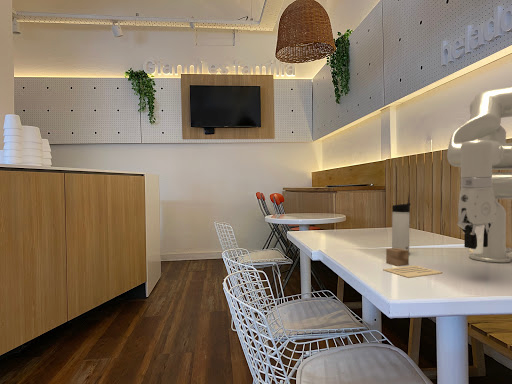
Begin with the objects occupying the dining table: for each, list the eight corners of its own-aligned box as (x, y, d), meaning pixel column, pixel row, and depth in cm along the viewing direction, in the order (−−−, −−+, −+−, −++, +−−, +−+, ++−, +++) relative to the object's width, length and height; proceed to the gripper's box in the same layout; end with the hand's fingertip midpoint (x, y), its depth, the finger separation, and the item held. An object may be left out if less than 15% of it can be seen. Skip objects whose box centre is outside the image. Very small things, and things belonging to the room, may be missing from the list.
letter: (415, 266, 112) (415, 265, 112) (442, 273, 102) (442, 272, 102) (382, 270, 106) (382, 269, 106) (408, 277, 97) (408, 276, 97)
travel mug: (412, 255, 129) (412, 203, 129) (393, 255, 131) (394, 203, 130) (408, 252, 135) (408, 203, 135) (390, 252, 137) (390, 202, 136)
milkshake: (460, 251, 100) (459, 217, 99) (478, 250, 100) (478, 216, 99) (469, 255, 95) (468, 220, 95) (489, 254, 95) (488, 218, 94)
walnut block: (397, 262, 119) (397, 248, 118) (408, 265, 114) (408, 250, 114) (386, 263, 117) (386, 248, 117) (397, 266, 112) (397, 251, 112)
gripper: (468, 185, 90) (468, 253, 90) (508, 182, 96) (508, 246, 97) (443, 184, 96) (443, 248, 97) (482, 182, 103) (482, 241, 104)
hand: (476, 246), depth 97 cm, fingers closed on milkshake, 4 cm apart
